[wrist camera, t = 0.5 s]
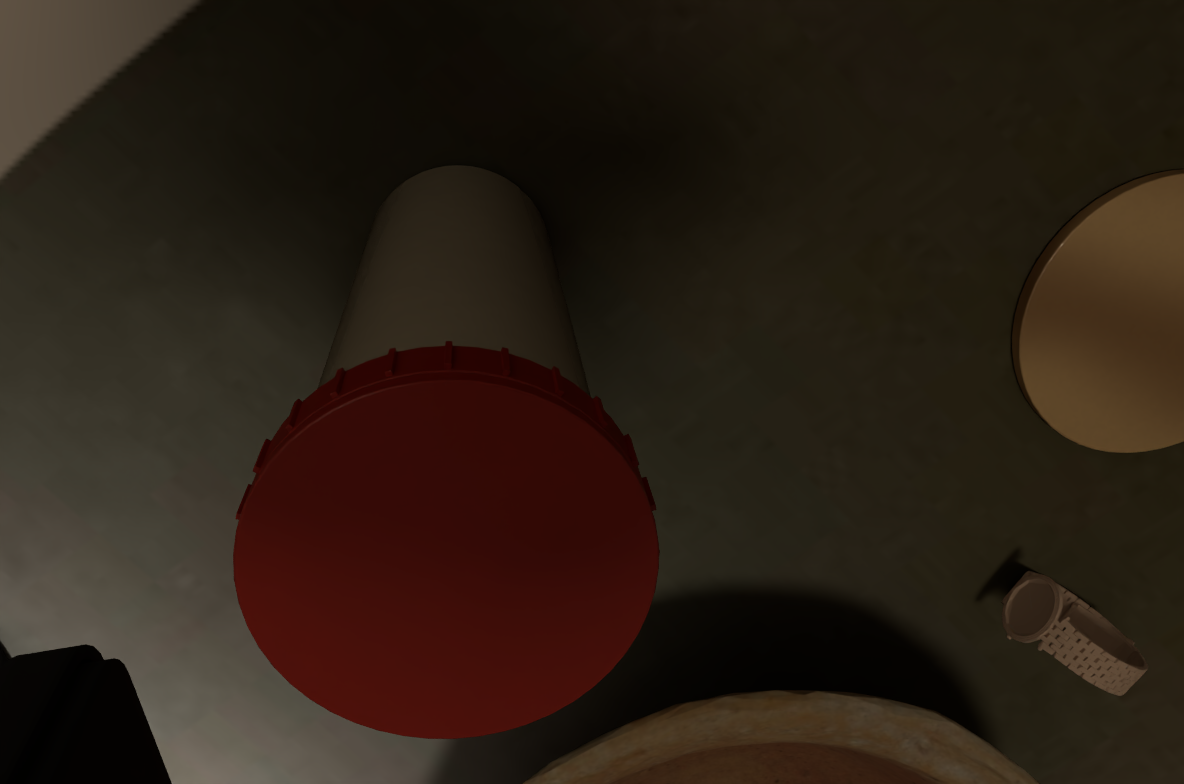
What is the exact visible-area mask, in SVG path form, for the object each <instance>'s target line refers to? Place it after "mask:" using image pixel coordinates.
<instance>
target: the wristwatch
mask: <svg viewBox="0 0 1184 784" xmlns="http://www.w3.org/2000/svg"><path fill="white" fill-rule="evenodd" d="M1077 598H1078V597H1077V596H1076V595H1074V594H1073V593H1071V592H1070V591H1068V590H1067V589H1065V588H1064V587H1062V586H1061V585H1059V584H1057V583H1056V582H1054V581H1053V580H1052V579H1051V578H1050V577H1048V576H1045V575H1043V574H1038V573H1035V572H1031V571H1028V572H1026V573H1025V574H1024V575H1023V576H1022V578H1021V579H1020V580H1019V581H1018V582H1017V583H1016V585H1015V586H1014V587H1013V588H1012V589H1011V590H1010V591H1009V593H1008V594H1007V595H1006V596H1005V597H1004V599H1003V601H1002V602H1001V603H1002V604H1003V605H1004V606H1003V611H1002V620H1003V626H1004V628H1005V630H1006V632H1007V635H1006V637H1007V638H1008V639H1012V638H1013V639H1014V640H1017V641H1020V642H1023V643H1031V642H1035V641H1038V640H1041V639H1042V641H1041V642H1040V643H1039V646H1038V647H1037V648H1038V650H1039V651H1041V650H1042V649H1044V650H1045V651H1046V652H1048V653H1049V654H1051V655H1053V654H1054V653H1055V652H1057V653H1055V654H1054V655H1053V656H1054V657H1055V658H1056V659H1057V660H1059V661H1060V662H1061V663H1063V664H1064V665H1065V666H1067V665H1068V664H1069V663H1070V664H1069V665H1068V666H1067V667H1068V668H1069V669H1071V670H1072V671H1073V672H1075V673H1076V674H1077V675H1080V676H1081V677H1082V678H1083V679H1085V680H1087V681H1088V682H1090V683H1091V684H1094V685H1095V686H1097V687H1099V688H1101V689H1103V690H1105V691H1106V692H1109V693H1112V694H1115V695H1123V694H1125V693H1126V691H1128V689H1129V688H1130V687H1131V686H1132V685H1133V684H1134V683H1135V682H1136V681H1137V680H1138V679H1139V678H1140V677H1141V676H1142V675H1143V674H1144V673H1145V672H1146V671H1147V670H1148V665H1147V663H1146V660H1145V659H1144V657H1143V656H1142V654H1140V652H1139V650H1138V649H1137V648H1136V647H1135V646H1134V642H1133V641H1132V640H1131V639H1130V638H1127V637H1126V636H1125V635H1124V634H1122V633H1121V632H1120V631H1119V630H1118V629H1117V628H1116V627H1113V626H1114V625H1112V624H1111V623H1110V622H1109V621H1108V620H1107V619H1106V618H1105V617H1102V615H1101V614H1100V613H1098V612H1097V611H1096V610H1095V609H1093V608H1092V607H1090V606H1089V605H1088V604H1087V603H1085V602H1084V601H1083V600H1082V599H1080V598H1078V599H1077ZM1076 599H1077V600H1076ZM1071 604H1072V605H1071ZM1070 606H1071V607H1070ZM1089 607H1090V608H1089ZM1088 608H1089V609H1088ZM1064 627H1066V629H1065V630H1064V631H1063V629H1064ZM1058 635H1059V636H1058ZM1057 636H1058V637H1057ZM1056 637H1057V638H1056ZM1069 637H1070V639H1069V640H1068V641H1067V639H1068V638H1069ZM1078 639H1080V640H1079V641H1078V642H1077V640H1078ZM1051 642H1052V644H1051V645H1049V644H1050V643H1051ZM1062 644H1063V645H1062ZM1061 645H1062V647H1061ZM1060 647H1061V648H1060ZM1072 647H1073V648H1072ZM1071 648H1072V649H1071ZM1070 649H1071V650H1070ZM1065 654H1067V655H1065ZM1064 655H1065V656H1064ZM1063 656H1064V657H1063ZM1085 658H1086V659H1085ZM1084 659H1085V660H1084ZM1078 665H1079V666H1078ZM1077 667H1078V668H1077Z"/></svg>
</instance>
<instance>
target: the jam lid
mask: <svg viewBox="0 0 1184 784" xmlns="http://www.w3.org/2000/svg"><path fill="white" fill-rule="evenodd" d="M638 465H639V462H638V459H637V456H636V453H635V450H634V447H633V444H632V440H631V438H630V436H629V434H627V435H625V436H623V434H622V433H621V431H620V430H619V428H618V427H617V425H616V424H615V423H614V421H613V420H612V418H611V417H610V416H609V415H608V414H607V413H606V412H605V411H604V409H603V405H602V402H601V399H600V398H599V397H598V396H596V397H595V398H594V399H593V398H591V397H590V396H589V395H588V394H587V393H585V392H584V391H583V390H582V389H581V388H579V387H578V386H577V385H576V384H574V383H572V382H571V381H569V380H568V379H566V378H564V377H563V376H561V375H560V370H559V368H557V367H555V366H553V368H552V369H548V368H546V367H544V366H542V365H540V364H538V363H535V362H533V361H531V360H528V359H525V358H522V357H519V356H515V355H512V354H509V349H508V348H504V347H502V349H501V351H496V350H490V349H485V348H479V347H467V346H453V342H452V341H446V342H445V346H433V347H420V348H415V349H409V350H404V351H399V352H397V350H396V348H391V349H389V352H388V354H387V355H384V356H381V357H378V358H375V359H372V360H369V361H366V362H364V363H362V364H360V365H358V366H355V367H353V368H351V369H349V370H347V371H345V370H344V368H343V367H342V368H340V369H338V370H337V372H336V375H335V378H333V379H332V380H330V381H328V382H327V383H325V384H324V385H322V386H321V387H319V388H318V389H317V390H316V391H315V392H313V393H312V394H311V395H310V396H309V397H307V398H306V399H305V400H304V401H303V402H302V401H301V400H300V399H297V400H296V401H295V402H294V405H293V407H292V410H291V413H290V415H289V417H288V418H287V419H286V420H285V421H284V422H283V424H282V425H281V427H280V428H279V430H278V431H277V433H276V434H275V436H274V437H273V439H272V440H271V441H270V440H268V439H266V440H265V442H264V444H263V446H262V449H261V451H260V454H259V456H258V459H257V461H256V464H255V466H254V468H253V472H255V473H256V475H255V478H254V480H253V483H252V485H250V484H248V486H247V489H246V491H245V494H244V496H243V499H242V501H241V504H240V506H239V509H238V511H237V514H236V519H238V520H239V522H238V526H237V529H236V535H235V544H234V552H233V565H234V581H235V587H236V592H237V597H238V602H239V605H240V608H241V610H242V613H243V616H244V618H245V621H246V624H247V626H248V628H249V630H250V632H251V634H252V636H253V637H254V639H255V641H256V643H257V645H258V647H259V648H260V649H261V651H262V652H263V653H264V655H265V656H266V657H267V659H268V660H269V661H270V663H271V664H272V665H273V667H274V668H275V669H276V670H277V671H278V672H279V673H280V674H281V675H282V676H283V677H284V678H285V679H286V680H287V681H288V682H289V683H290V684H291V685H293V686H294V687H295V688H296V689H298V690H299V691H300V692H301V693H303V694H304V695H305V696H306V697H308V698H309V699H310V700H312V701H314V702H315V703H317V704H319V705H320V706H322V707H324V708H325V709H327V710H329V711H330V712H332V713H334V714H337V715H339V716H341V717H343V718H345V719H347V720H350V721H352V722H354V723H357V724H360V725H363V726H366V727H369V728H372V729H375V730H378V731H383V732H388V733H392V734H397V735H401V736H409V737H418V738H428V739H457V738H467V737H478V736H484V735H489V734H494V733H499V732H504V731H507V730H511V729H514V728H517V727H520V726H523V725H527V724H530V723H532V722H534V721H537V720H539V719H541V718H543V717H546V716H548V715H550V714H553V713H554V712H556V711H558V710H560V709H561V708H563V707H565V706H567V705H568V704H570V703H572V702H574V701H575V700H576V699H578V698H579V697H581V696H582V695H583V694H585V693H586V692H587V691H589V690H590V689H592V688H593V687H594V686H595V685H596V684H597V683H598V682H599V681H601V680H602V679H603V678H604V677H605V676H606V675H607V674H608V673H609V672H610V671H611V670H612V669H613V668H614V667H615V665H616V664H617V663H618V662H619V661H620V659H621V658H622V657H623V656H624V655H625V654H626V652H627V651H628V649H629V648H630V646H631V644H632V643H633V641H634V640H635V638H636V637H637V635H638V634H639V631H640V629H641V627H642V625H643V623H644V621H645V619H646V616H647V614H648V612H649V609H650V606H651V602H652V599H653V596H654V593H655V589H656V582H657V576H658V569H659V553H660V550H659V543H658V536H657V530H656V524H655V519H654V516H653V513H652V511H654V510H656V505H655V502H654V499H653V496H652V493H651V490H650V487H649V484H648V481H647V478H646V477H644V478H641V475H640V472H639V469H638Z"/></svg>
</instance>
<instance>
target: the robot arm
mask: <svg viewBox="0 0 1184 784" xmlns="http://www.w3.org/2000/svg"><path fill="white" fill-rule="evenodd" d="M0 784H172V783H171V780H170V778H169V775H168V773H167V770H166V768H165V765H164V762H163V760H162V757H161V755H160V752H159V750H158V747H157V744H156V742H155V739H154V737H153V734H152V732H151V729H150V726H149V724H148V721H147V719H146V716H145V714H144V711H143V708H142V706H141V703H140V701H139V698H138V696H137V693H136V690H135V688H134V685H133V683H132V680H131V678H130V675H129V673H128V671H127V669H126V667H125V665H124V664H123V663H122V662H121V661H120V660H118V659H108V660H104V659H103V657H102V655H101V653H100V652H99V651H98V650H97V649H96V648H95V647H94V646H90V645H80V646H74V647H67V648H61V649H55V650H49V651H43V652H37V653H31V654H25V655H18V656H16V657H13V658H11V659H9V660H8V661H7V662H6V664H5V665H4V666H3V667H2V668H1V670H0Z"/></svg>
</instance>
